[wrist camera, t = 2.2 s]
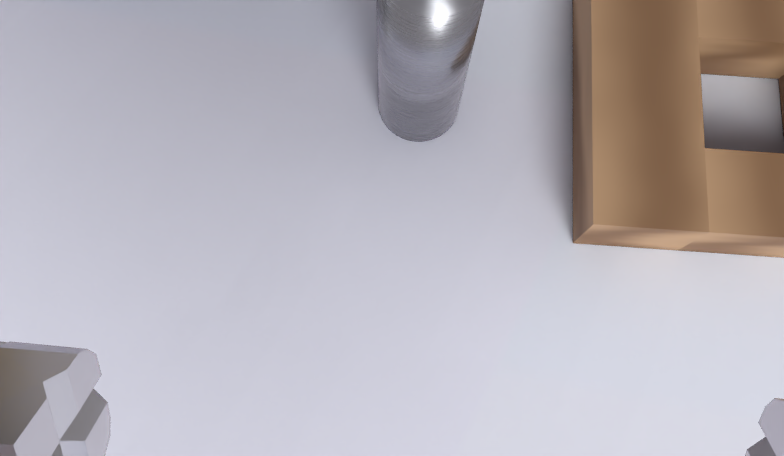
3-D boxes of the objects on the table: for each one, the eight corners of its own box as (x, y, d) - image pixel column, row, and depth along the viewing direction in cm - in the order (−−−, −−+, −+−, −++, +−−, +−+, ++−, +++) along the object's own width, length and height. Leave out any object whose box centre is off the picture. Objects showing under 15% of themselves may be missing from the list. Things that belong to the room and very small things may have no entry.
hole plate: (573, 243, 30) (593, 224, 27) (572, -2, 33) (590, -42, 30) (899, 265, 30) (955, 249, 27) (867, 18, 33) (914, -21, 30)
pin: (375, 138, 31) (371, 12, 21) (381, 66, 32) (380, -87, 22) (456, 144, 31) (488, 20, 21) (459, 71, 32) (492, -79, 22)
